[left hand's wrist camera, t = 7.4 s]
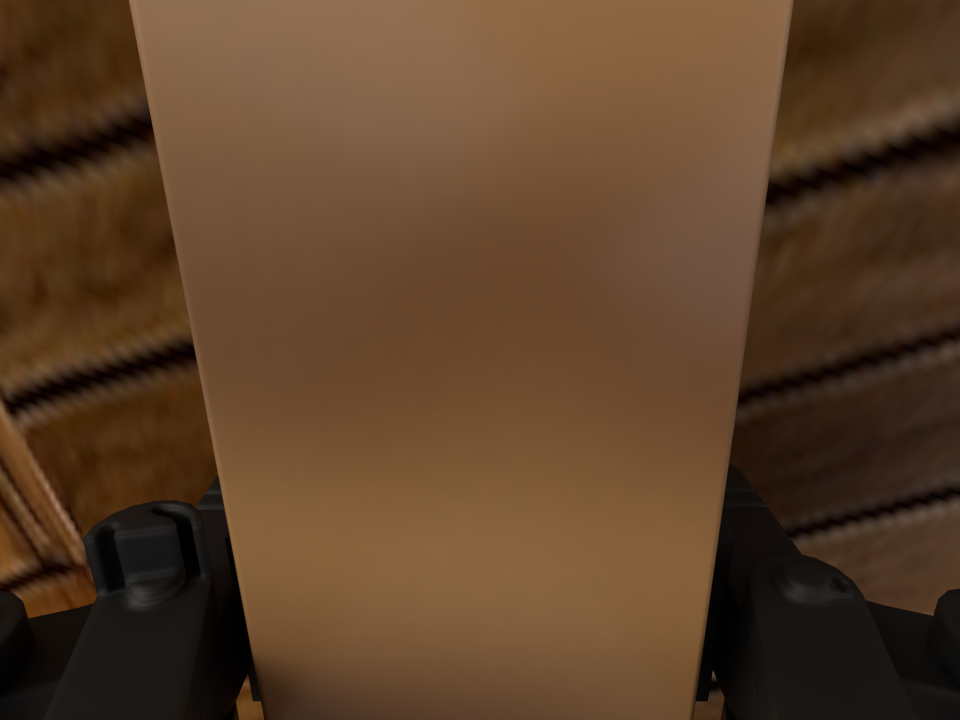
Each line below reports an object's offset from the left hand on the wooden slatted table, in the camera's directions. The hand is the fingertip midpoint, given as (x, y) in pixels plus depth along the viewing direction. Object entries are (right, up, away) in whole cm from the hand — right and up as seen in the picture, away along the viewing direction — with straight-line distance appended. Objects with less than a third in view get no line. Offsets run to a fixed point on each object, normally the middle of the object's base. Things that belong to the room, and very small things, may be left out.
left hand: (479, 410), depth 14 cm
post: (0, -19, +8) cm, 20 cm away
